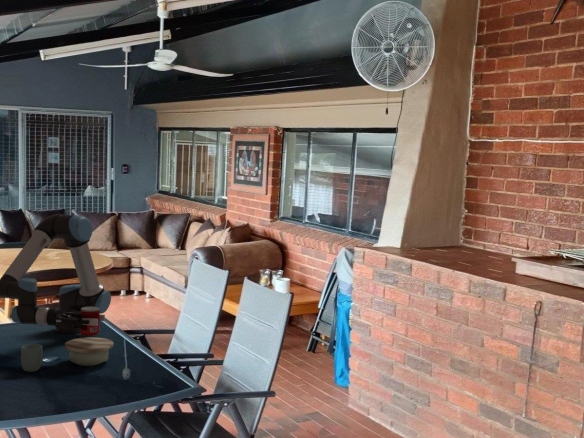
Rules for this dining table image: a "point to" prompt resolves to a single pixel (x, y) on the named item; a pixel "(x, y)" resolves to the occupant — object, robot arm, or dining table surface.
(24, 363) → the cup
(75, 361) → the bowl
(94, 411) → the dining table surface
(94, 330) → the canned food
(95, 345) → the bowl cover
